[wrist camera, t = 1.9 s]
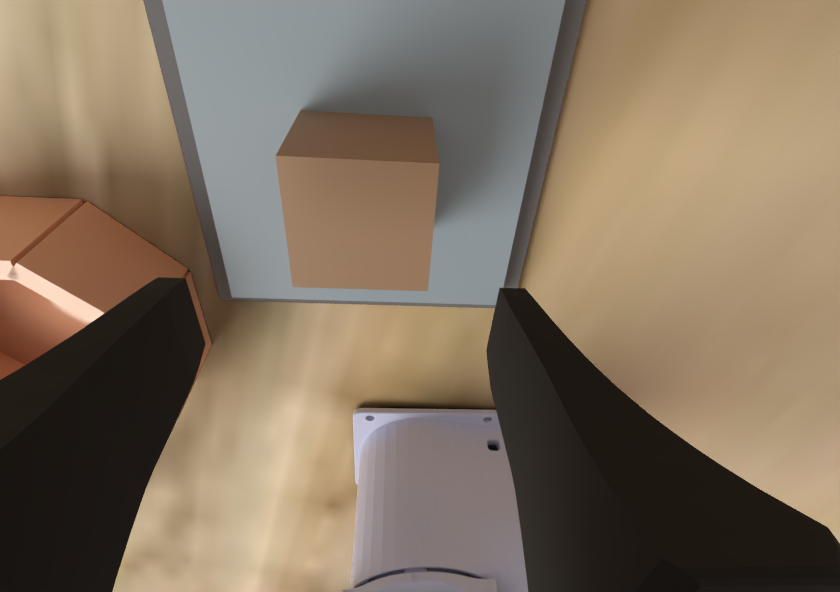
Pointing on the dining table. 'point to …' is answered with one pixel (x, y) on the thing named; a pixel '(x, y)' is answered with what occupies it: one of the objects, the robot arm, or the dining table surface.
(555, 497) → the robot arm
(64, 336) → the bowl
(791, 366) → the dining table surface
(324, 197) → the lid
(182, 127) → the mat
